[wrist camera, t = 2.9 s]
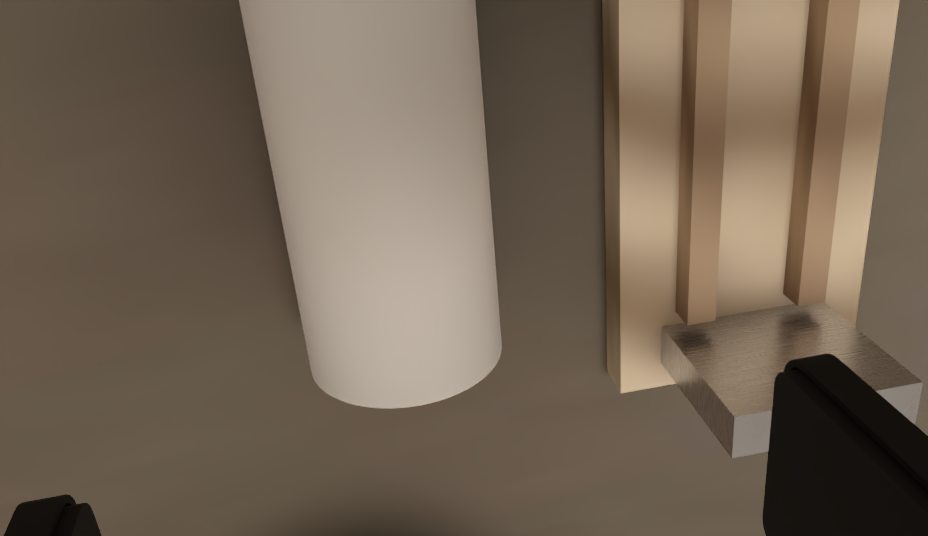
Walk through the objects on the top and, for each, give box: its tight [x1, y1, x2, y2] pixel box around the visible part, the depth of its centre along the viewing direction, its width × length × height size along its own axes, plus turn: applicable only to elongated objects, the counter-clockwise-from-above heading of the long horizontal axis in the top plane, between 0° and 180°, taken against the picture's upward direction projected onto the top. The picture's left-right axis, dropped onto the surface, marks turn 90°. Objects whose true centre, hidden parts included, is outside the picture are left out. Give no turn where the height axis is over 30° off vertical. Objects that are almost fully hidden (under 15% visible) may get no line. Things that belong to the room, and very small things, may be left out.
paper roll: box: [239, 0, 502, 408], centre depth 24 cm, size 12×6×6 cm, turn 5°
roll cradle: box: [602, 0, 923, 458], centre depth 25 cm, size 20×9×7 cm, turn 5°
